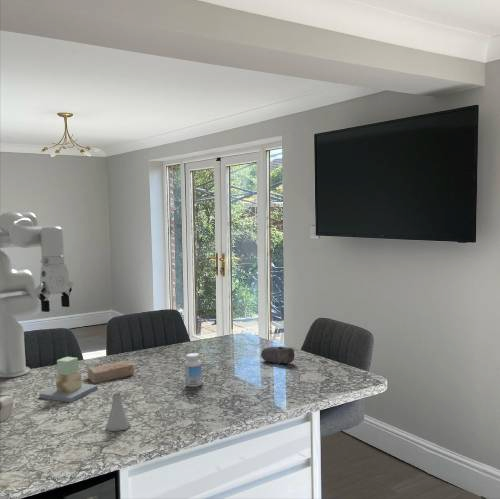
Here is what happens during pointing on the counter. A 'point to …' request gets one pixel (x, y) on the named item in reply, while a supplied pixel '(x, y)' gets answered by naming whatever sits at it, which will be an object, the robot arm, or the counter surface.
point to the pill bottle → (193, 370)
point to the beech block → (68, 382)
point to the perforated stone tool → (278, 355)
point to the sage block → (67, 366)
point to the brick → (110, 371)
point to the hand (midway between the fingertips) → (55, 309)
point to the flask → (117, 415)
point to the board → (67, 396)
